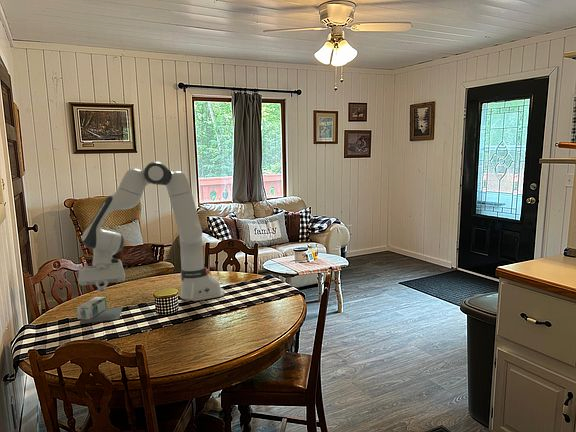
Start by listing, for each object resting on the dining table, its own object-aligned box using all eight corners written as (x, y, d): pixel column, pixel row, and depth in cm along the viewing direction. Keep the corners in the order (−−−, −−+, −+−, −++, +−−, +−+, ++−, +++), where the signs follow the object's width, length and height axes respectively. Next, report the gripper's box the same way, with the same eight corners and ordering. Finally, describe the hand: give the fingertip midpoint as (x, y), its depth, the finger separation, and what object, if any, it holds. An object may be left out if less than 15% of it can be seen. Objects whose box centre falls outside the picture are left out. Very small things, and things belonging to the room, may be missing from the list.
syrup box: (107, 308, 202) (89, 319, 187) (96, 308, 202) (76, 319, 188) (106, 296, 201) (87, 307, 187) (95, 296, 202) (75, 307, 188)
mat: (122, 307, 203) (122, 306, 203) (119, 319, 188) (119, 318, 188) (86, 311, 199) (85, 311, 199) (79, 324, 183) (79, 323, 183)
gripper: (77, 263, 199) (75, 289, 191) (124, 259, 204) (123, 284, 196) (80, 270, 204) (78, 296, 196) (125, 266, 209) (125, 291, 201)
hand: (101, 290), depth 196 cm, fingers closed
